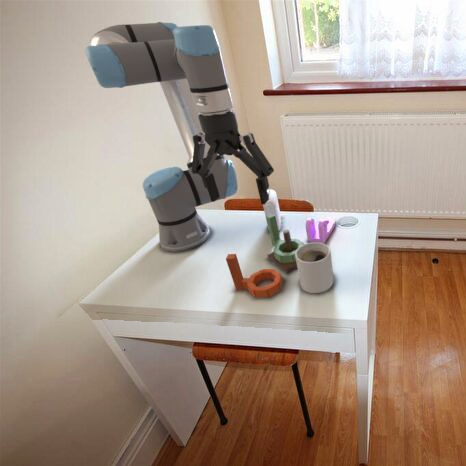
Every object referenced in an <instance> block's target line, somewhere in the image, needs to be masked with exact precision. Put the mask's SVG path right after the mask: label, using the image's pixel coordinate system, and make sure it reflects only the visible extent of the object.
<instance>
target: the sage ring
mask: <svg viewBox="0 0 466 466" xmlns="http://www.w3.org/2000/svg"><path fill="white" fill-rule="evenodd" d="M266 219H267V221H266V224H268V225H267V229H268V228H269V229H268V231H269V236H270V240H271V244H272V246H273V247H274V248H273V251H272V252H274V255H275V259H277V260H278V261H280V262H281V263H292V262H293V261H294V262H295V261H296V257H295V253H296V251H297V249H298V248H299V247H301V246H302V245H304V242H303V241H301V240H300V239H298V238H291V242H292V247H293V248H296V250H295V251H293V252H290V253H283V252H282V251H284V250H286V245H285V240H284V239H281V237H280V232H279V231H280V230H279V231H278V226H277V222H276V217H275V215H273V214H269V215H267V216H265V220H266Z"/></svg>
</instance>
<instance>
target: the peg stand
mask: <svg viewBox="0 0 466 466" xmlns="http://www.w3.org/2000/svg"><path fill="white" fill-rule="evenodd" d="M282 234H283V240H285V245H286V250H284V251H282V252H283V253H290V252H293V251H295V250H296V248H293V247H292V242H291V239H292V238H291V232H290V230H289V229H284V230H283V231H282ZM266 257H267V260H268V261H270V262H271V263H272V264H274V265H275V266H276V267H278V268H279V269H281V271H283V272H285V273H286V274H289V273H291V272H292V271H294V270H296V269H298V268H297V263H296V261H295V262H294V261H293V262H292V263H281V262H280V261H278V260H277V259H275V255H274V251H272V252H271V253H269V254H267V255H266Z"/></svg>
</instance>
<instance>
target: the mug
mask: <svg viewBox="0 0 466 466" xmlns="http://www.w3.org/2000/svg"><path fill="white" fill-rule="evenodd" d="M295 257H296V263H297V268H296V269H297V273H298V279H299V283H300V284H299V285H300V287H301V289H302V290H303V291H304V292H307V293H309V294H321V293H324V292H326V291H328V290H329V289H330V288H331V287H332V286H333V285H334V280H335V279H334V272H333V262H332V253H331V248H330V246H329V245H328V244H325V243H319V242H307V243H305V244H304V245H302V246H301V247H299V248H298V249H297V251H296V253H295Z"/></svg>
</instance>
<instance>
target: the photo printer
mask: <svg viewBox="0 0 466 466" xmlns="http://www.w3.org/2000/svg"><path fill="white" fill-rule="evenodd" d="M267 192H268V197H269V200H268V201H267V202H266V203H265V204H262V207H263V212H264V215H265V216H264V217H266V216H267V215H269V214H273V215H275V217H276V222H277V226H278V231H280V230H281V227H282V215H281V214H282V213H281V209H280V205H279V204H280V203H279V199H278V195H277V192H276V191H275V190H274V189H268V190H267ZM265 220H266V222H267V219H266V218H265ZM266 224H267V223H266ZM267 226H268V224H267ZM267 230H269V228H268V227H267Z"/></svg>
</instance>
